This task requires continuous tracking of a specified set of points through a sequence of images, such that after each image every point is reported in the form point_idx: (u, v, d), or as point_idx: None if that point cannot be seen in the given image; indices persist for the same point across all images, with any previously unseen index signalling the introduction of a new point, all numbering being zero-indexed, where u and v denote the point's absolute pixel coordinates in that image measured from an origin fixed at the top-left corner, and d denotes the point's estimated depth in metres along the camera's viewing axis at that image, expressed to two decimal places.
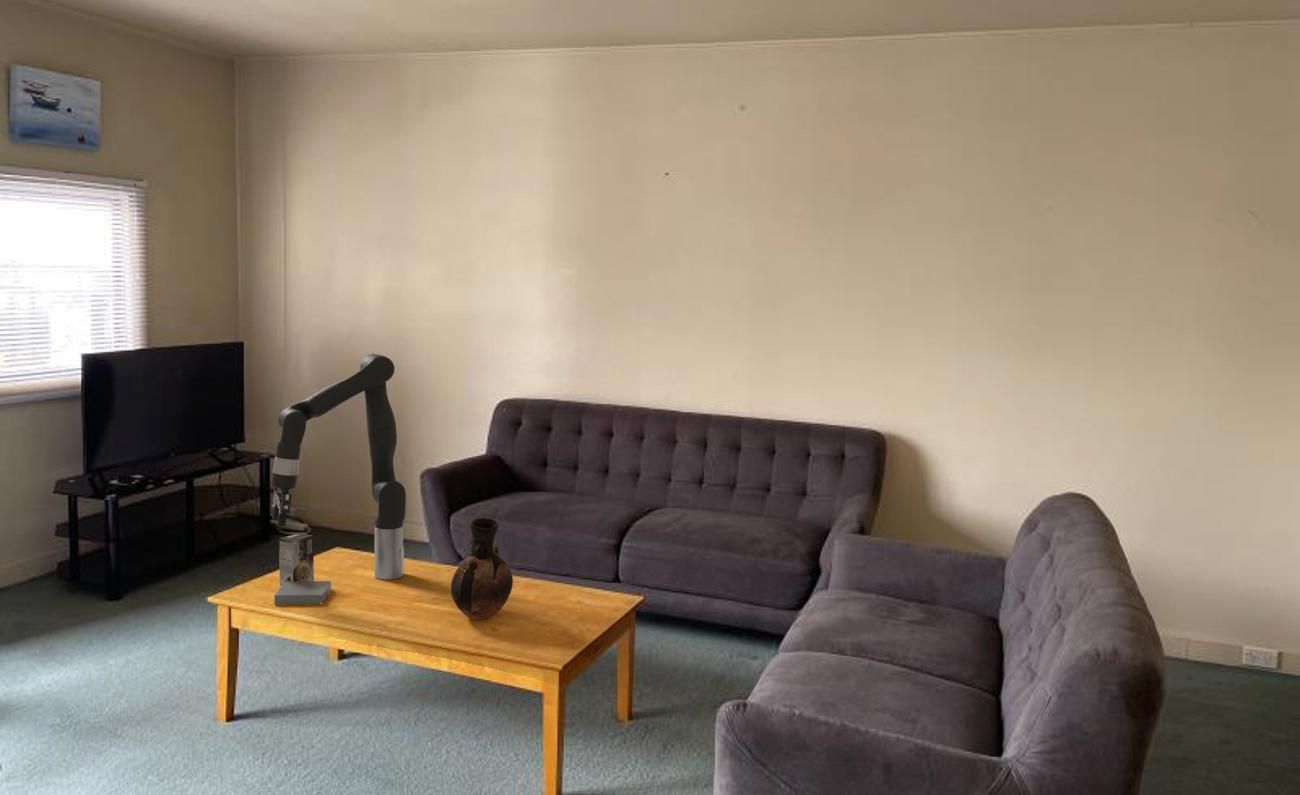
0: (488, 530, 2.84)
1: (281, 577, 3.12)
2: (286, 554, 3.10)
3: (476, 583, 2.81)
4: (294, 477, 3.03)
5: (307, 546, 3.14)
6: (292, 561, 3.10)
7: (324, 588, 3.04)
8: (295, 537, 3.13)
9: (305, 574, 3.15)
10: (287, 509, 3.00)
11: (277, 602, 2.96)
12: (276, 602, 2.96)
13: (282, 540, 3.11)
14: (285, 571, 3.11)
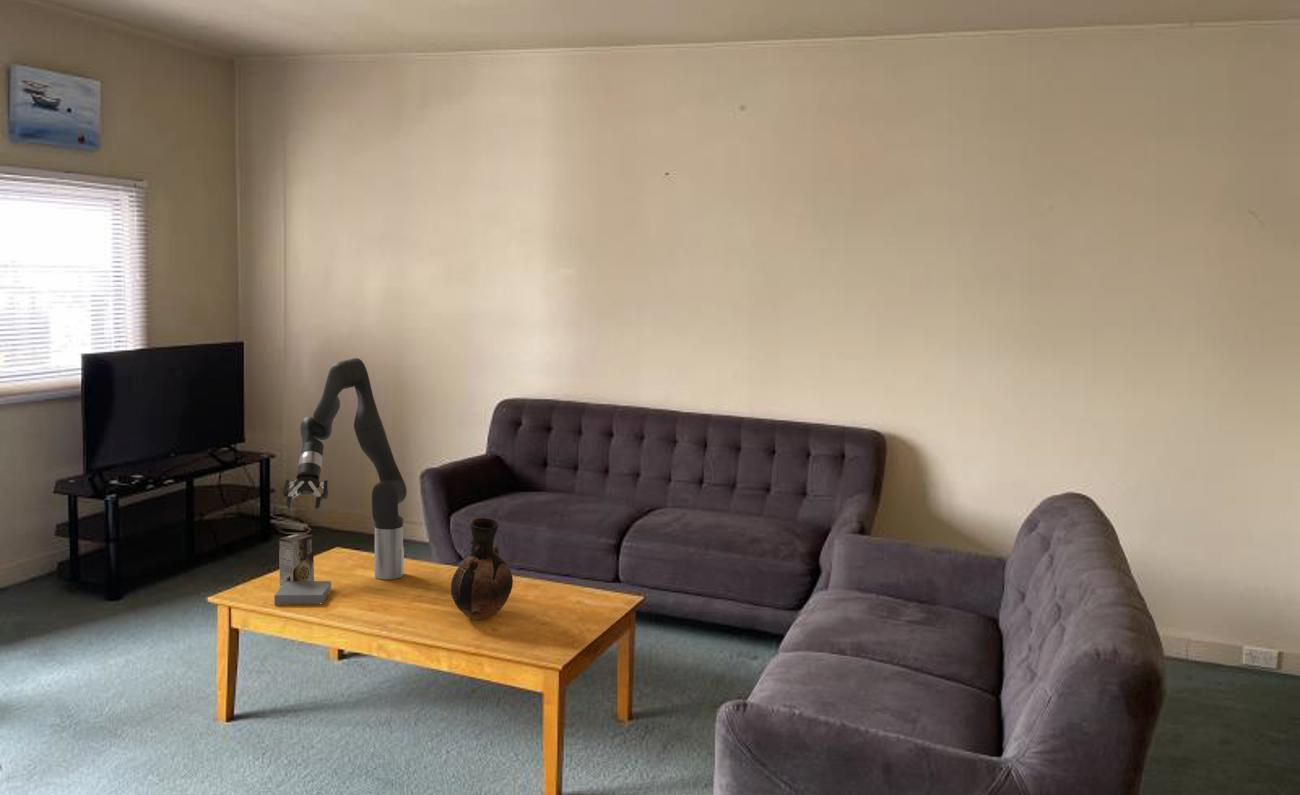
0: (488, 530, 2.84)
1: (281, 577, 3.12)
2: (286, 554, 3.10)
3: (476, 583, 2.81)
4: (299, 466, 3.30)
5: (307, 546, 3.14)
6: (292, 561, 3.10)
7: (324, 588, 3.04)
8: (295, 537, 3.13)
9: (305, 574, 3.15)
10: None
11: (277, 602, 2.96)
12: (276, 602, 2.96)
13: (282, 540, 3.11)
14: (285, 571, 3.11)
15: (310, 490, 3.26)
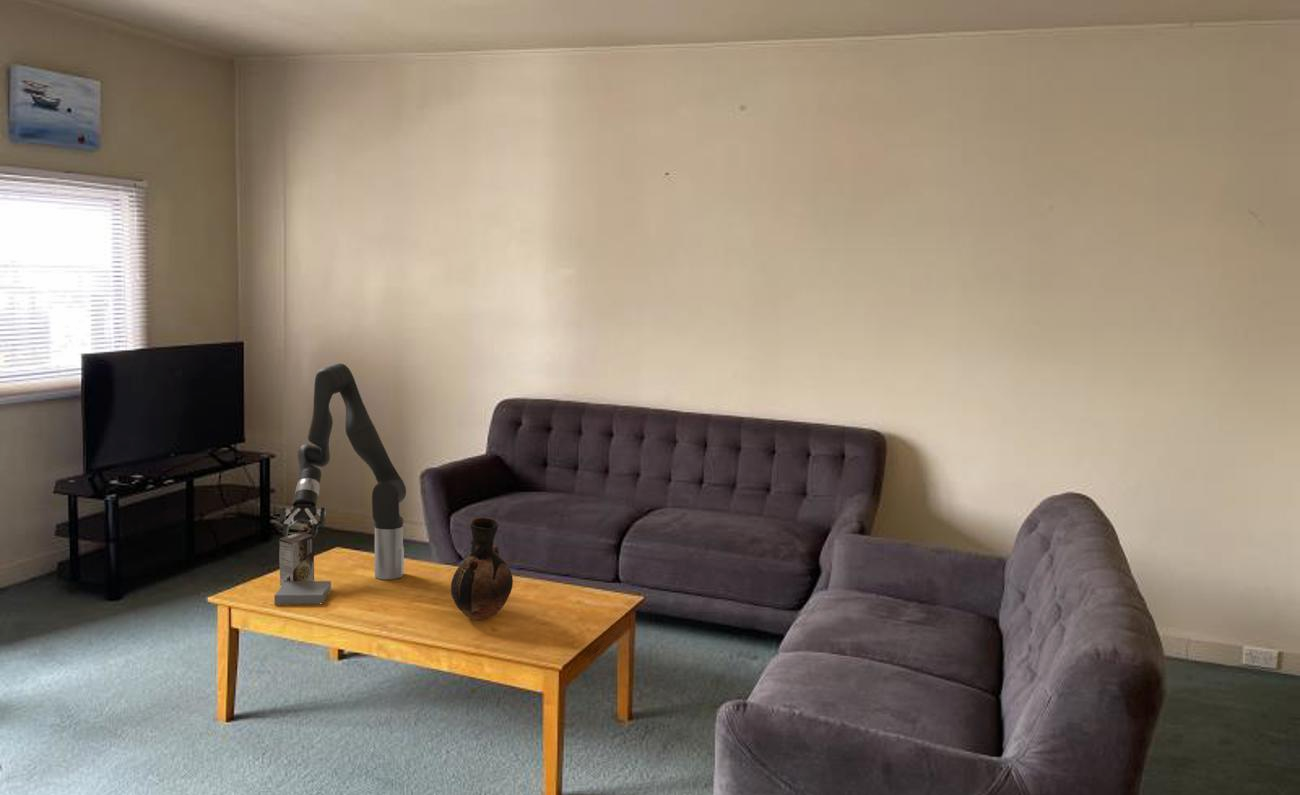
0: (488, 530, 2.84)
1: (281, 576, 3.12)
2: (286, 554, 3.09)
3: (476, 583, 2.81)
4: (296, 493, 3.23)
5: (307, 547, 3.13)
6: (292, 562, 3.09)
7: (324, 588, 3.04)
8: (295, 537, 3.12)
9: (305, 573, 3.14)
10: None
11: (277, 602, 2.96)
12: (276, 602, 2.96)
13: (282, 541, 3.09)
14: (285, 571, 3.11)
15: (307, 517, 3.19)
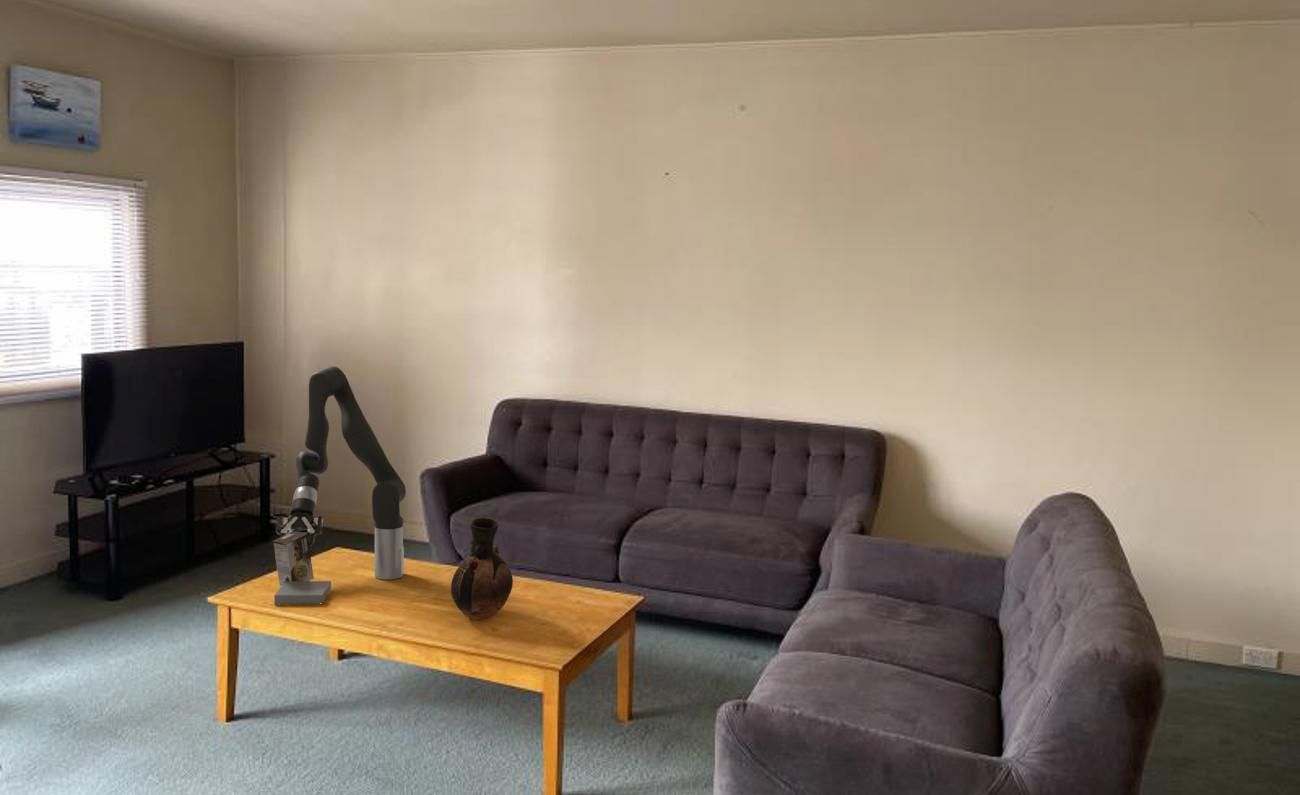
0: (488, 530, 2.84)
1: (280, 578, 3.12)
2: (281, 556, 3.09)
3: (476, 583, 2.81)
4: (293, 501, 3.22)
5: (302, 546, 3.12)
6: (289, 563, 3.08)
7: (324, 588, 3.04)
8: (289, 538, 3.11)
9: (304, 572, 3.14)
10: None
11: (277, 602, 2.96)
12: (276, 602, 2.96)
13: (276, 542, 3.08)
14: (283, 572, 3.10)
15: (304, 526, 3.18)
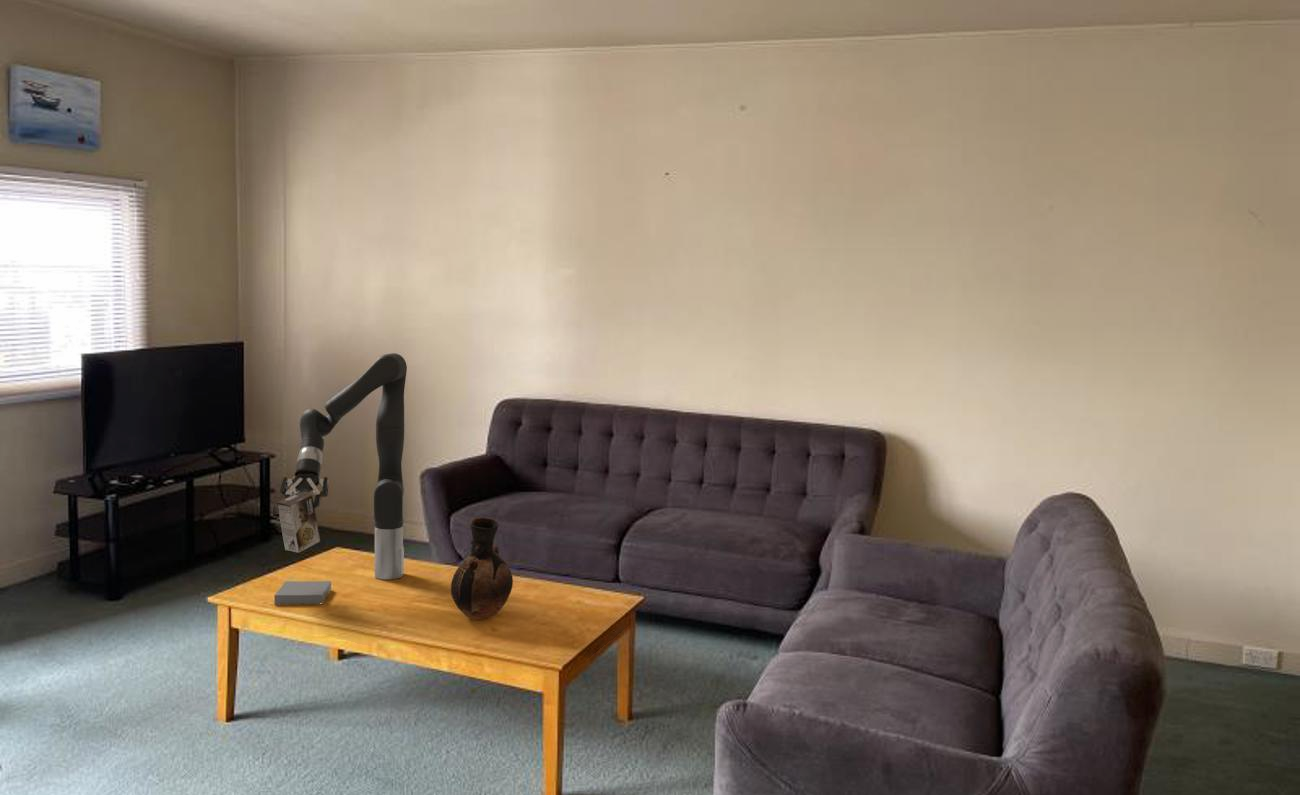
0: (488, 530, 2.84)
1: (285, 540, 3.01)
2: (286, 517, 2.98)
3: (476, 583, 2.81)
4: (297, 462, 3.11)
5: (307, 507, 3.01)
6: (294, 524, 2.97)
7: (324, 588, 3.04)
8: (293, 499, 3.00)
9: (309, 534, 3.03)
10: None
11: (277, 602, 2.96)
12: (276, 602, 2.96)
13: (280, 504, 2.98)
14: (288, 534, 3.00)
15: (309, 487, 3.07)
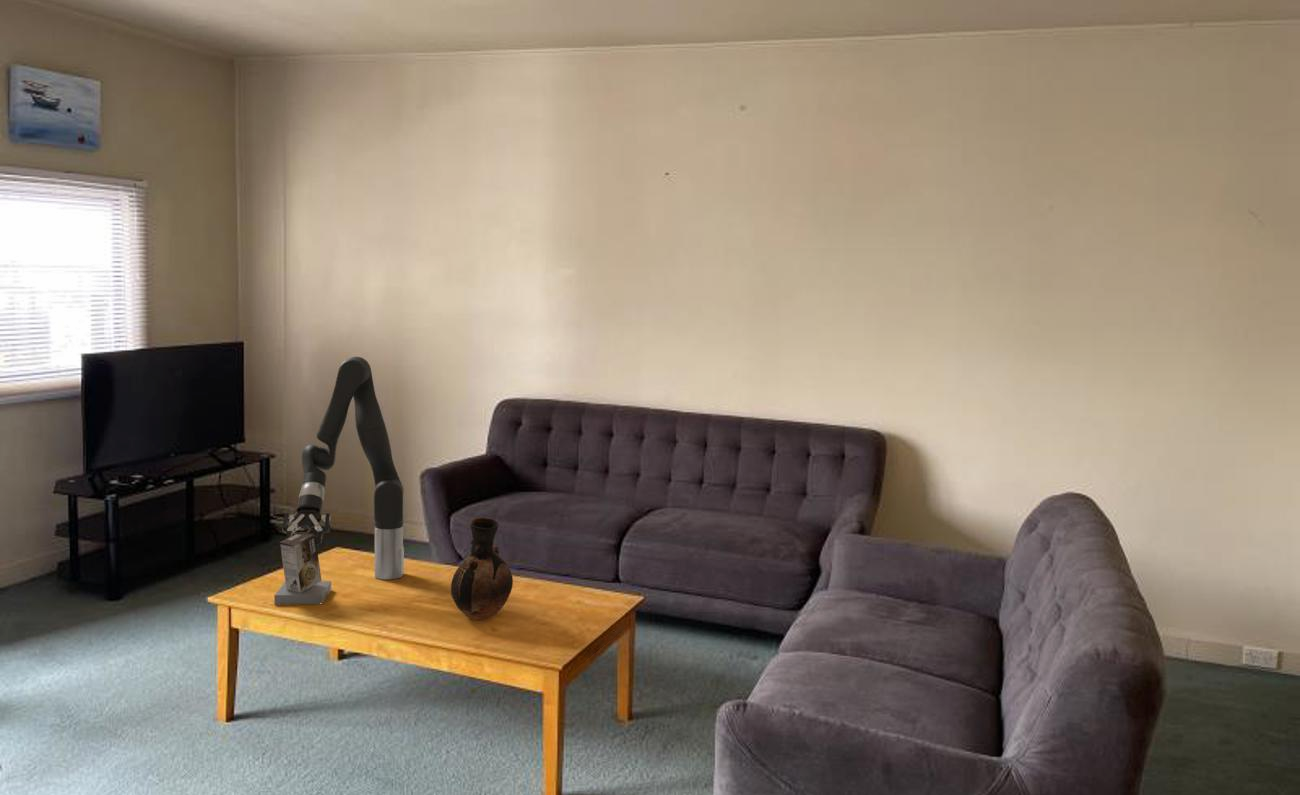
0: (488, 530, 2.84)
1: (287, 580, 3.00)
2: (289, 557, 2.97)
3: (476, 583, 2.81)
4: (299, 498, 3.09)
5: (310, 547, 3.00)
6: (296, 565, 2.96)
7: (324, 588, 3.04)
8: (296, 539, 2.98)
9: (311, 574, 3.02)
10: None
11: (277, 602, 2.96)
12: (276, 602, 2.96)
13: (283, 544, 2.96)
14: (290, 574, 2.98)
15: (311, 524, 3.05)
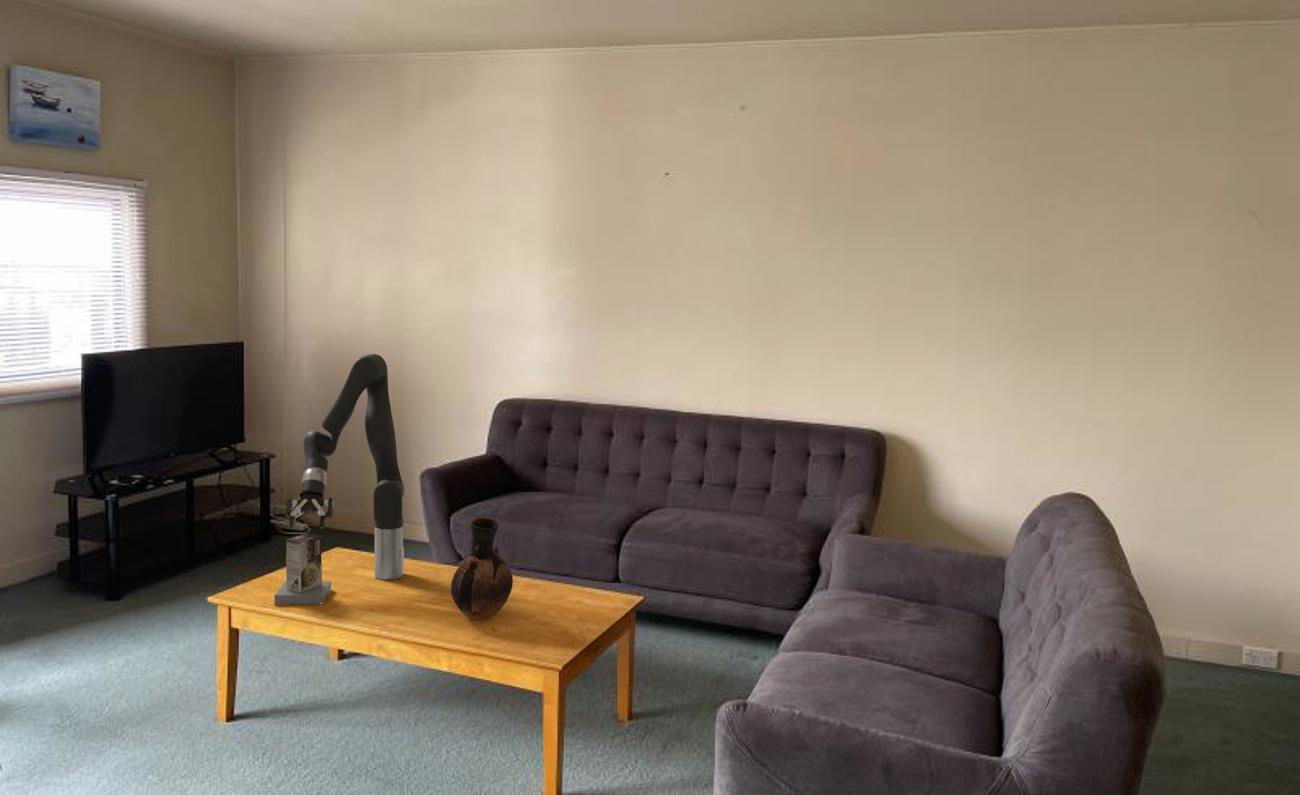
0: (488, 530, 2.84)
1: (288, 580, 3.00)
2: (293, 555, 2.98)
3: (476, 583, 2.81)
4: (302, 483, 3.13)
5: (315, 548, 3.02)
6: (300, 563, 2.98)
7: (324, 588, 3.04)
8: (302, 538, 3.01)
9: (313, 576, 3.03)
10: None
11: (277, 602, 2.96)
12: (276, 602, 2.96)
13: (289, 541, 2.99)
14: (293, 573, 2.99)
15: (314, 509, 3.09)
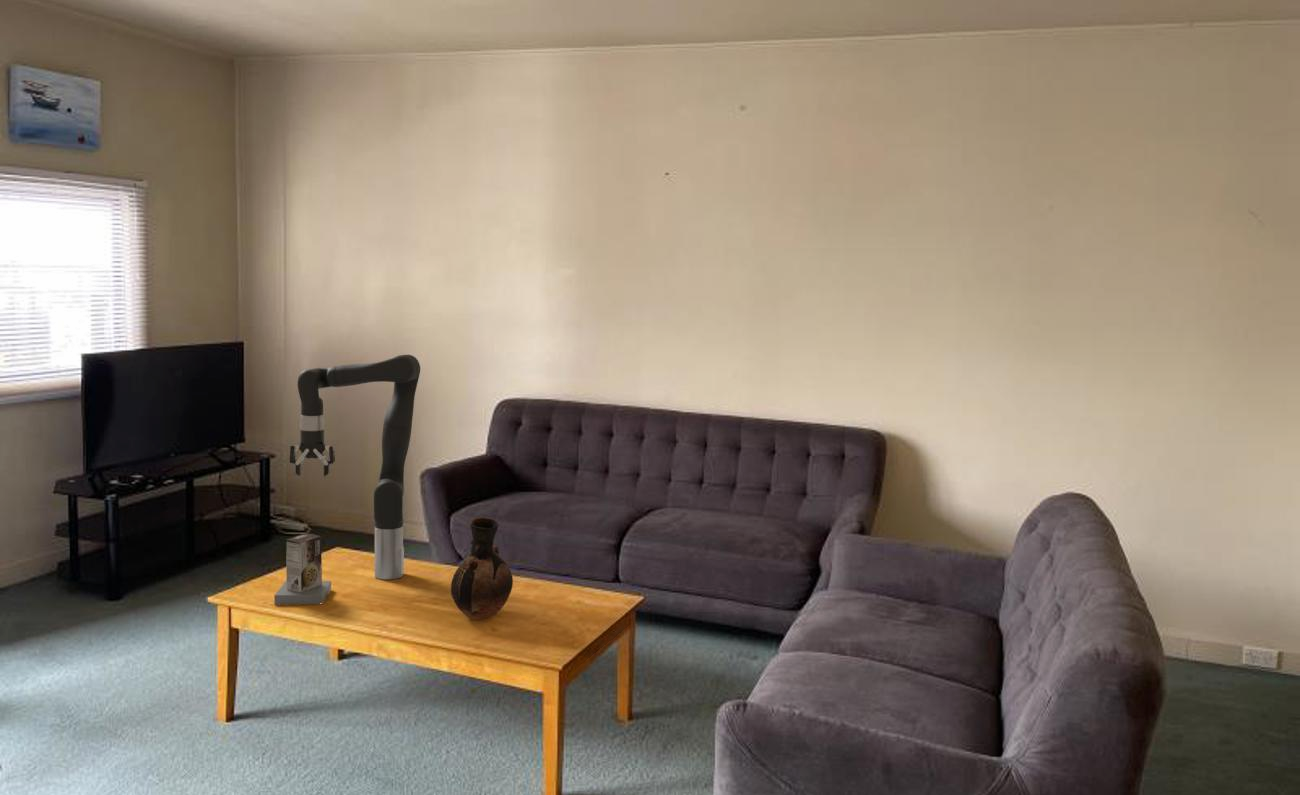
0: (488, 530, 2.84)
1: (288, 580, 3.00)
2: (293, 555, 2.98)
3: (476, 583, 2.81)
4: (301, 432, 3.23)
5: (315, 548, 3.02)
6: (300, 563, 2.98)
7: (324, 588, 3.04)
8: (303, 538, 3.01)
9: (313, 576, 3.03)
10: None
11: (277, 602, 2.96)
12: (276, 602, 2.96)
13: (289, 541, 2.99)
14: (293, 573, 2.99)
15: (316, 457, 3.26)
